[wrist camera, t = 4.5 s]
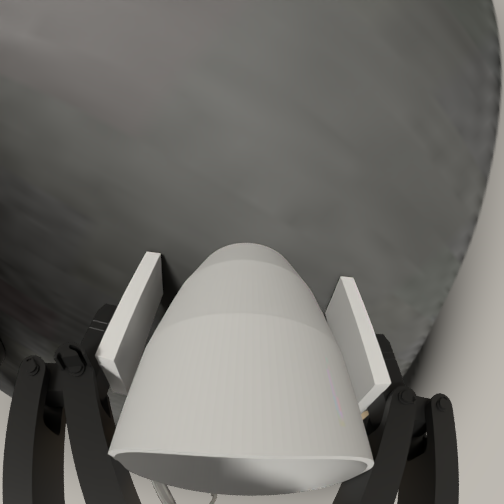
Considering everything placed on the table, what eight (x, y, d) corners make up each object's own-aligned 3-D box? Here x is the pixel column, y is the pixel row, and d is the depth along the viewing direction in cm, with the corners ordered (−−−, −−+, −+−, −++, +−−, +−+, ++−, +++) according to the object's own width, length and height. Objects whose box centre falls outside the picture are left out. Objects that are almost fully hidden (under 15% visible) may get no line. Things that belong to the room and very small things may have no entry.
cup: (148, 231, 13) (51, 425, 5) (318, 199, 12) (407, 427, 4) (199, 339, 17) (176, 491, 9) (326, 323, 16) (356, 484, 8)
